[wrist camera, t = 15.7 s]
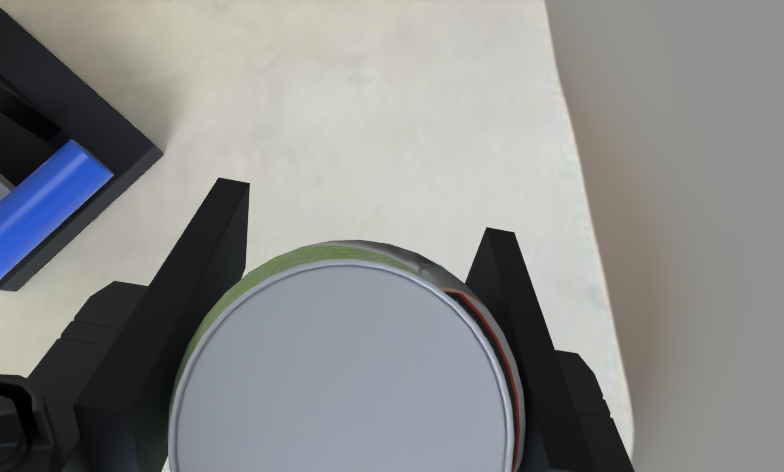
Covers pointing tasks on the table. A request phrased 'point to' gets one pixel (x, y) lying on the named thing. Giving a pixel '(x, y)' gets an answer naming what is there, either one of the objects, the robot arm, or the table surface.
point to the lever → (46, 200)
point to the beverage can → (347, 371)
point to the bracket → (59, 135)
